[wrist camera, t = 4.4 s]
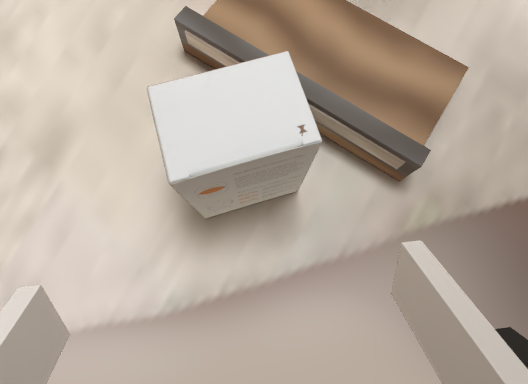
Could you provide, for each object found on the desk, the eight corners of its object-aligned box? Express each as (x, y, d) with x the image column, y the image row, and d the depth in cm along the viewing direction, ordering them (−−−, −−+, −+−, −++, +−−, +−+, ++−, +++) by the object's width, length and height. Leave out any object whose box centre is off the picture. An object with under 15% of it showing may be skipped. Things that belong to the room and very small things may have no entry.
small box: (278, 131, 27) (292, 46, 17) (299, 192, 26) (327, 140, 16) (186, 156, 26) (142, 82, 16) (203, 220, 25) (166, 184, 15)
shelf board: (258, -36, 31) (258, -75, 28) (459, 75, 29) (488, 47, 25) (183, 51, 29) (172, 20, 25) (398, 182, 26) (420, 168, 23)
